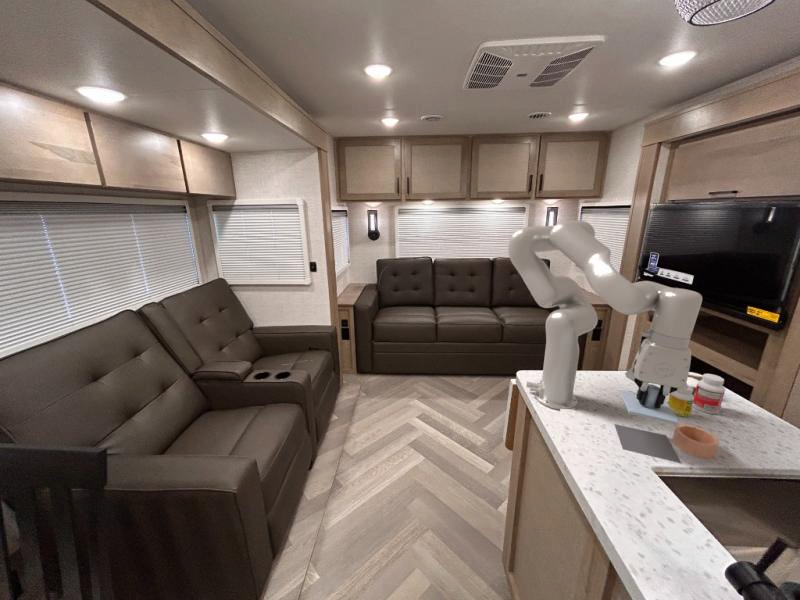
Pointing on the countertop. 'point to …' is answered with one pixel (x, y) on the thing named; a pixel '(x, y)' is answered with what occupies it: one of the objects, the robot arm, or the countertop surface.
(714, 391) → the pill bottle
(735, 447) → the countertop surface
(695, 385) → the garlic
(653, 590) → the countertop surface
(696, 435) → the bowl
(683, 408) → the supplement bottle
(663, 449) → the mat
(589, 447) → the countertop surface
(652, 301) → the robot arm
